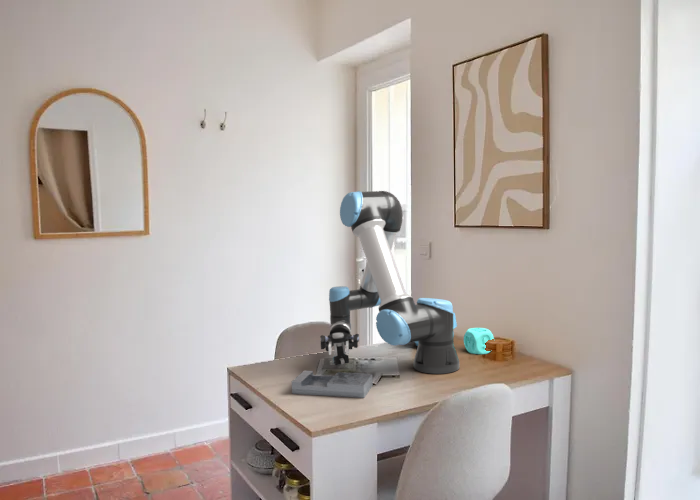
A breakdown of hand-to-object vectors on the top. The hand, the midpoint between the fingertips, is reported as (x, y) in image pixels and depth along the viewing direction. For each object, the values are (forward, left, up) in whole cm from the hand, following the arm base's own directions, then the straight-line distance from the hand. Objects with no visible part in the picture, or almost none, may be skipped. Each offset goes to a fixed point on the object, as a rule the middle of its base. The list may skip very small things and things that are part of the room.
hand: (338, 350), depth 177 cm
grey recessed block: (-1, +10, -9) cm, 14 cm away
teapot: (-25, -44, -10) cm, 51 cm away
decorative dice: (-42, -39, -10) cm, 58 cm away
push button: (+1, -5, -6) cm, 8 cm away
